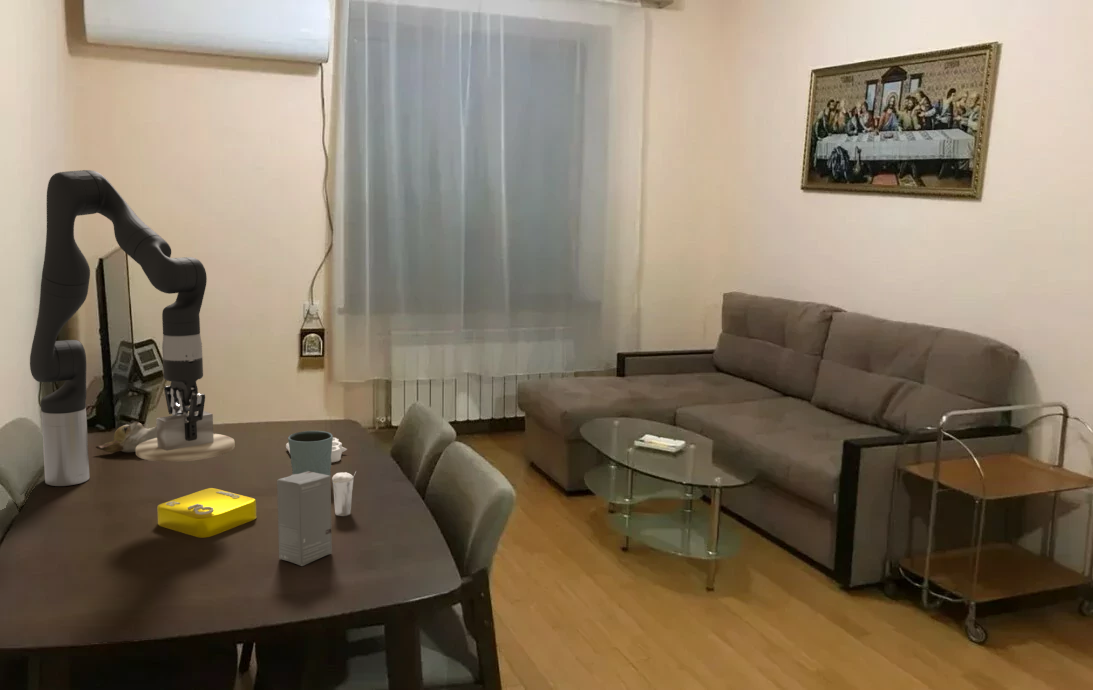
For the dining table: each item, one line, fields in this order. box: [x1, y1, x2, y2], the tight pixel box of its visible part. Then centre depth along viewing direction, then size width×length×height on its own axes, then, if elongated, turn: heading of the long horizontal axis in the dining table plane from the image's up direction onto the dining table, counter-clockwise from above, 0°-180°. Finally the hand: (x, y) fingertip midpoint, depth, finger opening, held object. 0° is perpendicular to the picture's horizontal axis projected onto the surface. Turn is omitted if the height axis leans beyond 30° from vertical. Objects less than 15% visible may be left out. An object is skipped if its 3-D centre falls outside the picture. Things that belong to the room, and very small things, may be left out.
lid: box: [135, 410, 236, 463], centre depth 186 cm, size 19×19×7 cm
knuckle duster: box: [285, 437, 348, 463], centre depth 240 cm, size 3×18×15 cm
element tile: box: [156, 487, 257, 538], centre depth 189 cm, size 15×15×5 cm
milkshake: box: [331, 470, 357, 517], centre depth 195 cm, size 4×5×10 cm
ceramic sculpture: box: [95, 420, 157, 453], centre depth 236 cm, size 11×9×15 cm
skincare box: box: [276, 471, 333, 567], centre depth 171 cm, size 8×7×16 cm
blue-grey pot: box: [287, 430, 334, 477], centre depth 214 cm, size 10×10×12 cm
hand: (186, 437), depth 186 cm, fingers closed on lid, 4 cm apart
